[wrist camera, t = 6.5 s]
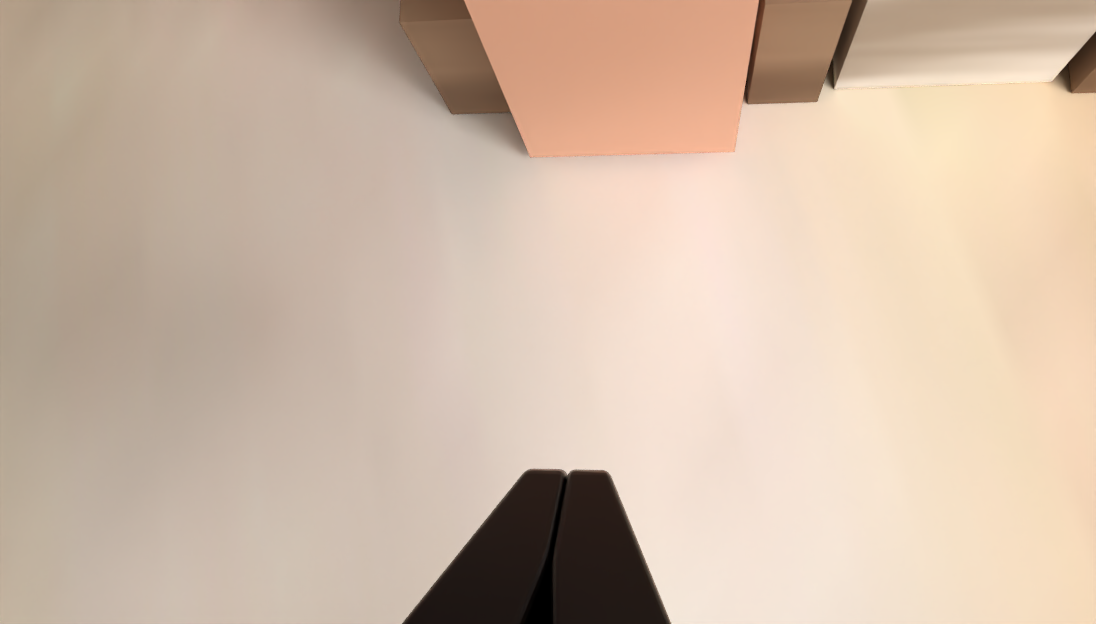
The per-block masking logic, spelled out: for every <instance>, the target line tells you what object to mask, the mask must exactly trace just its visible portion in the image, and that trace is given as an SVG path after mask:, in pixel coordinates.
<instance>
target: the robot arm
mask: <svg viewBox="0 0 1096 624" xmlns="http://www.w3.org/2000/svg"><path fill="white" fill-rule="evenodd" d="M402 624H671V622H670V620H669V617H668V615H667V612H666V610H665V607H664V605H663V602H662V600H661V598H660V595H659V593H658V590H657V588H656V585H655V583H654V580H653V578H652V575H651V573H650V571H649V568H648V566H647V563H646V561H645V558H644V556H643V553H642V551H641V549H640V546H639V544H638V541H637V539H636V536H635V534H634V531H633V529H632V526H631V524H630V522H629V519H628V517H627V514H626V512H625V509H624V507H623V504H622V502H621V500H620V497H619V495H618V492H617V490H616V487H615V485H614V482H613V480H612V478H611V476H610V474H609V473H608V472H607V471H604V470H572V471H571V472H570V473H569V474H568V475H567V474H566V472H565V471H563V470H560V469H529V470H527V471H525V472H524V473H523V474H522V475H521V477H520V478H519V479H518V480H517V482H516V483H515V484H514V485H513V487H512V488H511V489H510V490H509V492H508V493H507V494H506V495H505V497H504V498H503V499H502V500H501V502H500V503H499V504H498V505H497V506H496V508H495V509H494V510H493V511H492V513H491V514H490V515H489V516H488V518H487V519H486V520H485V521H484V523H483V524H482V525H481V526H480V528H479V529H478V530H477V531H476V533H475V534H474V535H473V536H472V538H471V539H470V540H469V541H468V542H467V544H466V545H465V546H464V547H463V549H462V550H461V551H460V552H459V554H458V555H457V556H456V557H455V559H454V560H453V561H452V562H451V564H450V565H449V566H448V567H447V569H446V570H445V571H444V572H443V573H442V575H441V576H440V577H439V578H438V580H437V581H436V582H435V583H434V585H433V586H432V587H431V588H430V590H429V591H428V592H427V593H426V595H425V596H424V597H423V598H422V600H421V601H420V602H419V603H418V605H417V606H416V607H415V608H414V609H413V611H412V612H411V613H410V614H409V616H408V617H407V618H406V619H405V621H404V622H403V623H402Z"/></svg>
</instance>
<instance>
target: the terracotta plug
mask: <svg viewBox="0 0 1096 624" xmlns="http://www.w3.org/2000/svg"><path fill="white" fill-rule="evenodd" d="M464 1H465V4H466V6H467V9H468V11H469V13H470V16H471V18H472V20H473V23H474V25H475V27H476V30H477V32H478V35H479V37H480V39H481V42H482V44H483V46H484V49H485V51H486V54H487V56H488V58H489V61H490V63H491V65H492V68H493V70H494V73H495V75H496V77H497V80H498V82H499V84H500V87H501V89H502V92H503V94H504V96H505V99H506V101H507V103H508V106H509V108H510V111H511V113H512V115H513V118H514V120H515V122H516V125H517V127H518V130H519V132H520V134H521V137H522V139H523V141H524V144H525V146H526V148H527V151H528V153H529V156H530V157H562V156H599V155H636V154H673V153H710V152H734V151H735V145H736V139H737V133H738V127H739V120H740V114H741V108H742V102H743V96H744V90H745V84H746V77H747V71H748V65H749V59H750V53H751V47H752V40H753V34H754V28H755V22H756V16H757V10H758V3H759V0H464Z"/></svg>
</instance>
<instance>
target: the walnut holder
mask: <svg viewBox="0 0 1096 624" xmlns="http://www.w3.org/2000/svg"><path fill="white" fill-rule="evenodd" d="M399 23H400V25H401V26H402V28H403V30H404V31H405V33H406V35H407V37H408V38H409V40H410V42H411V44H412V45H413V47H414V49H415V51H416V52H417V54H418V56H419V58H420V59H421V61H422V63H423V65H424V66H425V68H426V70H427V71H428V73H429V75H430V77H431V78H432V80H433V82H434V84H435V85H436V87H437V89H438V91H439V92H440V94H441V96H442V98H443V99H444V101H445V103H446V105H447V106H448V108H449V110H450V112H451V113H452V114H473V113H503V112H511V111H510V108H509V106H508V103H507V101H506V99H505V96H504V94H503V92H502V89H501V87H500V84H499V82H498V80H497V77H496V75H495V73H494V70H493V68H492V65H491V63H490V61H489V58H488V56H487V54H486V51H485V49H484V46H483V44H482V42H481V39H480V37H479V35H478V32H477V30H476V27H475V25H474V23H473V20H472V18H471V16H470V13H469V11H468V9H467V6H466V4H465V1H464V0H401V2H400V18H399ZM832 57H833V73H834V89H858V88H886V87H914V86H942V85H971V84H999V83H1027V82H1052V80H1053V79H1054V78H1055V77H1056V76H1057V75H1058V74H1059V72H1060V71H1061V70H1062V69H1063V68H1064V67H1065V66H1066V65H1067V63H1068V64H1069V74H1070V85H1071V93H1093V92H1096V0H759V3H758V10H757V16H756V22H755V28H754V34H753V40H752V47H751V53H750V59H749V65H748V71H747V93H748V104H768V103H798V102H817V101H818V98H819V95H820V92H821V89H822V86H823V83H824V81H825V78H826V75H827V72H828V69H829V66H830V63H831V60H832Z"/></svg>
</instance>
